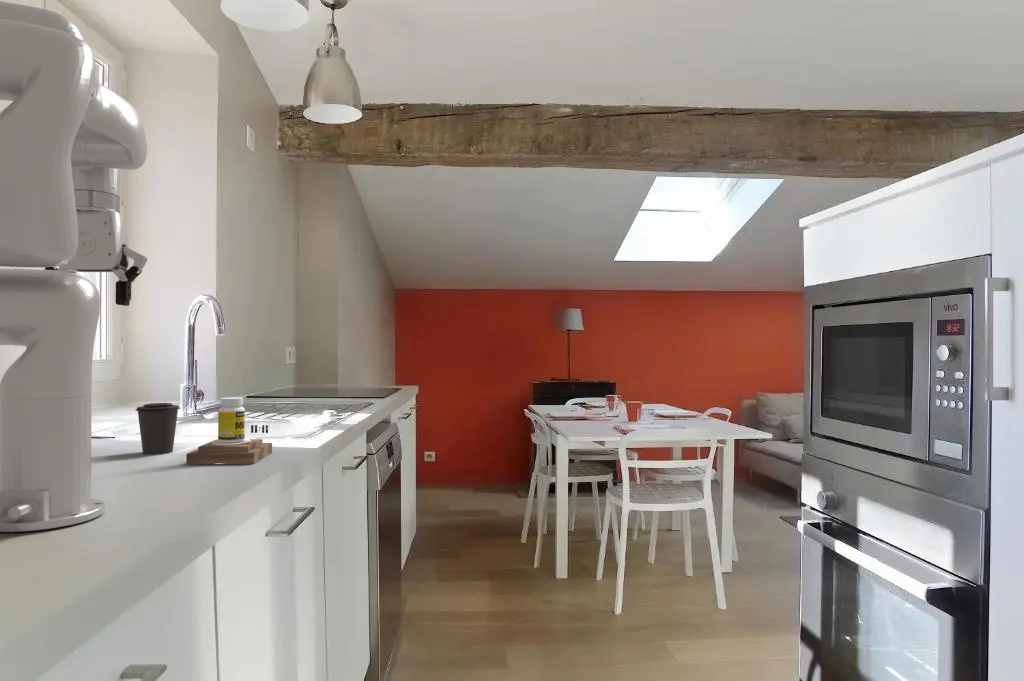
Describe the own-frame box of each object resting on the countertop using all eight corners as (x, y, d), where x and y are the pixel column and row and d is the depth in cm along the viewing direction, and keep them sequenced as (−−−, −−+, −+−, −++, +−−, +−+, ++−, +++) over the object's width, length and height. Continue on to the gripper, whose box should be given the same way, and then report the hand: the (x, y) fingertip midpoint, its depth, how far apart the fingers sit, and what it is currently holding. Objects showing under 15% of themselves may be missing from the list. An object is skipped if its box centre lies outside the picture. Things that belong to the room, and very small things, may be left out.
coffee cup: (166, 456, 127) (166, 405, 127) (125, 455, 128) (126, 405, 128) (188, 449, 135) (188, 401, 135) (149, 449, 136) (150, 401, 136)
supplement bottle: (238, 443, 123) (238, 399, 123) (213, 443, 123) (213, 398, 123) (248, 439, 127) (249, 396, 127) (225, 439, 127) (225, 396, 127)
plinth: (254, 463, 120) (254, 446, 120) (186, 464, 119) (186, 446, 119) (272, 452, 132) (272, 436, 132) (210, 453, 131) (210, 437, 131)
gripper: (27, 200, 108) (26, 303, 107) (134, 201, 108) (133, 303, 108) (56, 210, 115) (56, 306, 115) (156, 211, 116) (156, 306, 116)
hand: (93, 305), depth 112 cm, fingers open, 9 cm apart
